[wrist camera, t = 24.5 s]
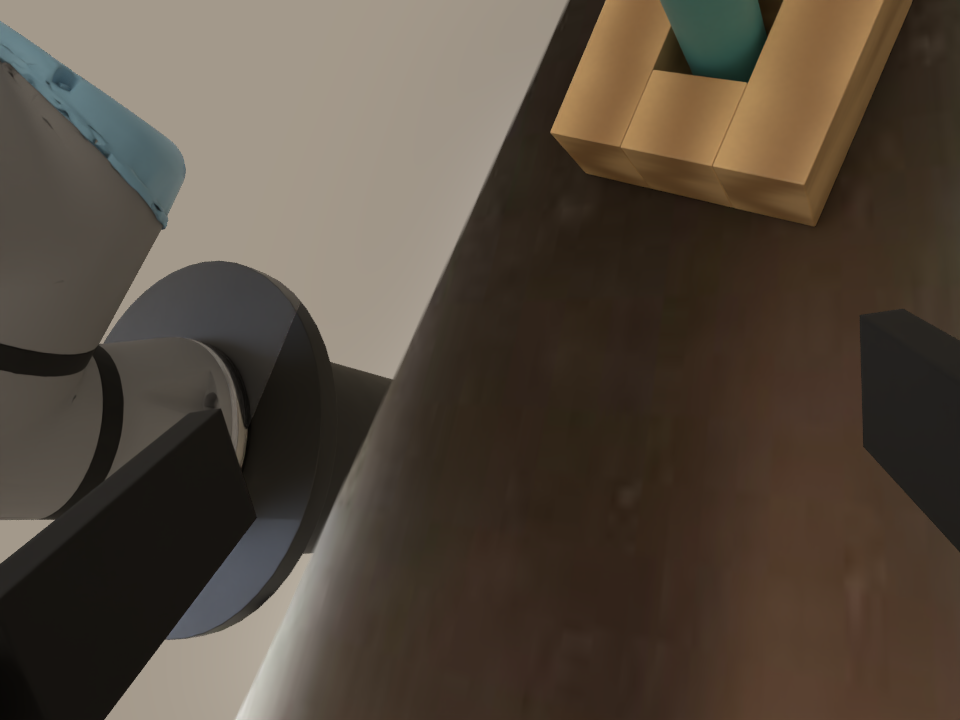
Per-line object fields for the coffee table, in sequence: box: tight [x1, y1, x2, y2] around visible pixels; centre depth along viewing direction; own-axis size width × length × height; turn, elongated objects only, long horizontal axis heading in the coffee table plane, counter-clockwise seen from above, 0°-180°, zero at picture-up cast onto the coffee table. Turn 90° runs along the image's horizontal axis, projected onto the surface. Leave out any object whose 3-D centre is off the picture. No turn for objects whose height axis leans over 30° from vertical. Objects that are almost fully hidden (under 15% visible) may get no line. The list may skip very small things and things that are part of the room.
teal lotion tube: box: [660, 0, 767, 84], centre depth 31 cm, size 4×4×14 cm
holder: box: [550, 0, 913, 227], centre depth 34 cm, size 13×13×5 cm
